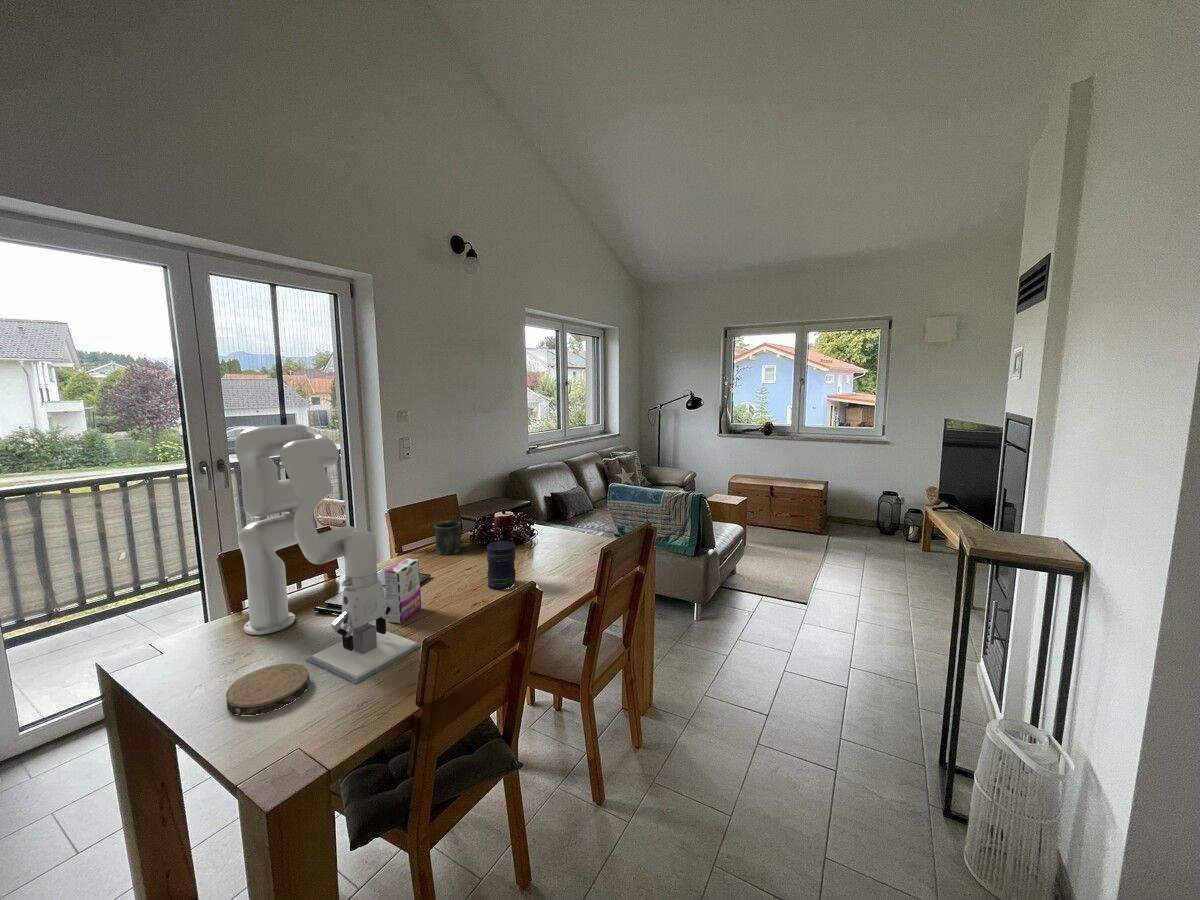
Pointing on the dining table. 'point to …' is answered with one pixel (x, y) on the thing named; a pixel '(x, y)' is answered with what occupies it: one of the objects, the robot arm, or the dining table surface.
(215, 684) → the dining table surface
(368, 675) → the mat
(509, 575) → the storage jar
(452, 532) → the mug
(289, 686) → the cork trivet
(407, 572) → the candy bar box
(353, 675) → the lid
